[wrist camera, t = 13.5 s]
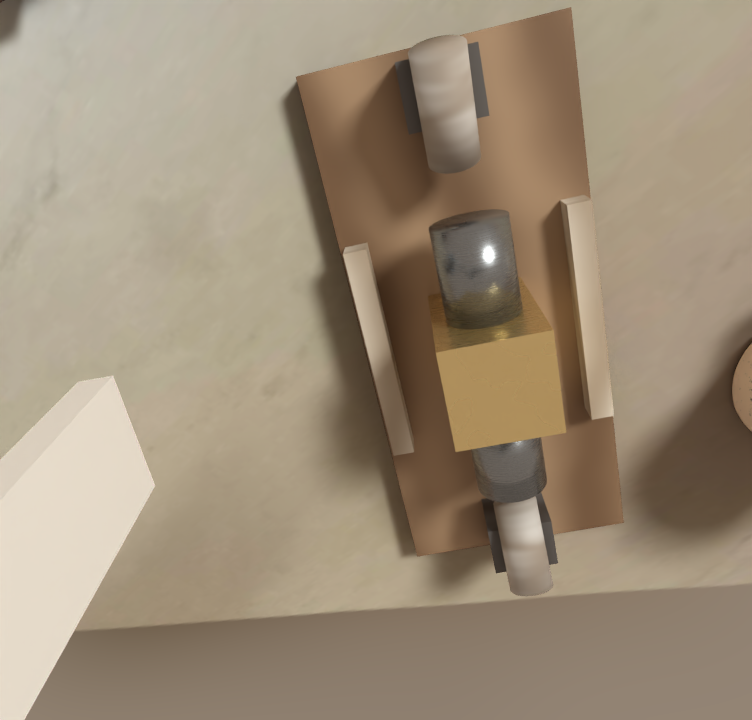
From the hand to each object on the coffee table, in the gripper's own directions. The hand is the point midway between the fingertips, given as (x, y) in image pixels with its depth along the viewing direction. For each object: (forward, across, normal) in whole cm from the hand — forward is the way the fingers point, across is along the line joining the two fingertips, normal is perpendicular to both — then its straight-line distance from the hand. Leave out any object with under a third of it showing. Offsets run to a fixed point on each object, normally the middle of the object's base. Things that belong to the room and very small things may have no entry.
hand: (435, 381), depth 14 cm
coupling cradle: (+23, +3, -8) cm, 25 cm away
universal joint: (+22, +3, -8) cm, 23 cm away
